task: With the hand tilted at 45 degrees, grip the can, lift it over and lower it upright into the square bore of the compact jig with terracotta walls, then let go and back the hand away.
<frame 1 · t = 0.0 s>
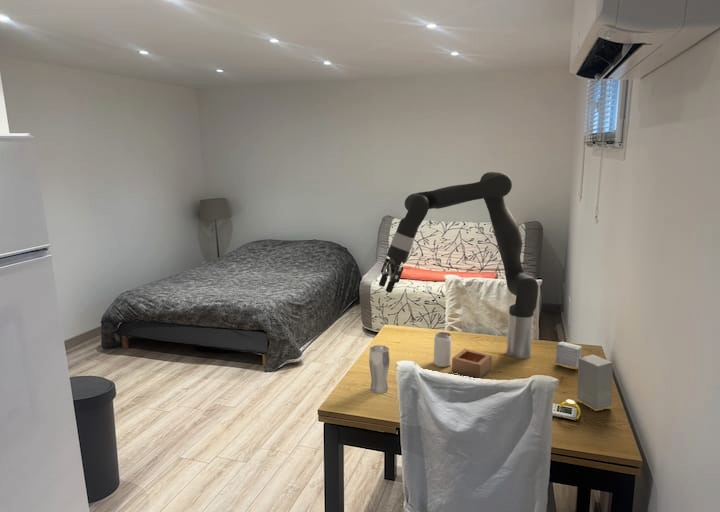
hand: (384, 288, 182), 31 cm above the table, tool tilted 20°, fingers open, 8 cm apart
jig: (471, 371, 186), on the table
can: (442, 364, 193), on the table
skincare box: (592, 405, 162), on the table
beer glass: (379, 390, 172), on the table
medicine box: (567, 367, 191), on the table
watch: (568, 419, 154), on the table
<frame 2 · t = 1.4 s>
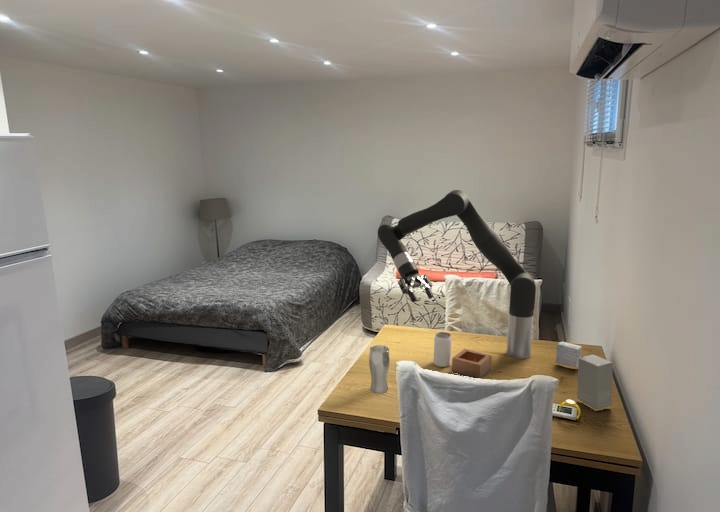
hand: (423, 299, 198), 23 cm above the table, tool tilted 45°, fingers open, 8 cm apart
nothing on the table moved.
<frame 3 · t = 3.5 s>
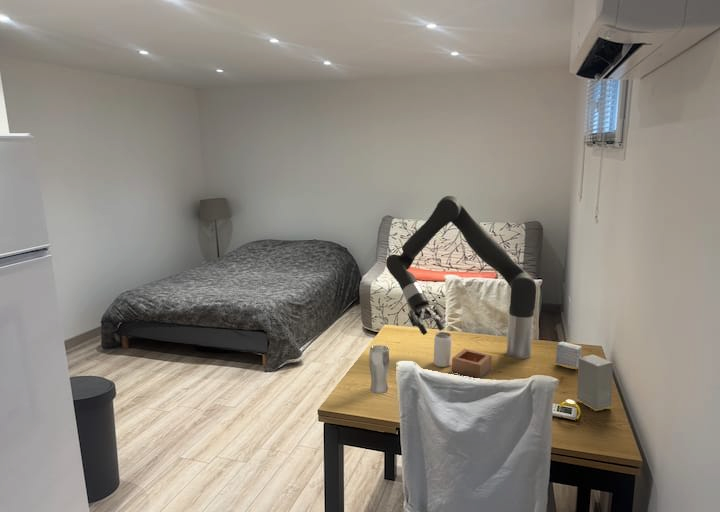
hand: (433, 331, 195), 12 cm above the table, tool tilted 45°, fingers open, 8 cm apart
nothing on the table moved.
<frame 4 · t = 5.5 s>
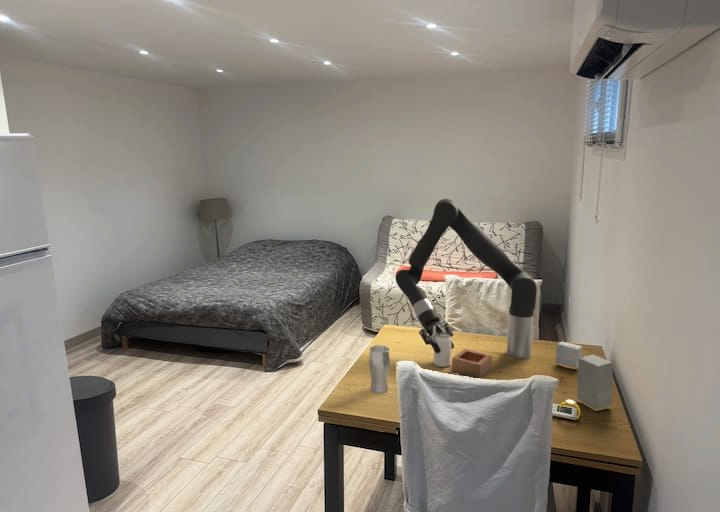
hand: (445, 350, 191), 6 cm above the table, tool tilted 45°, fingers closed on can, 6 cm apart
can: (442, 364, 193), on the table, touching gripper
everything else where it was.
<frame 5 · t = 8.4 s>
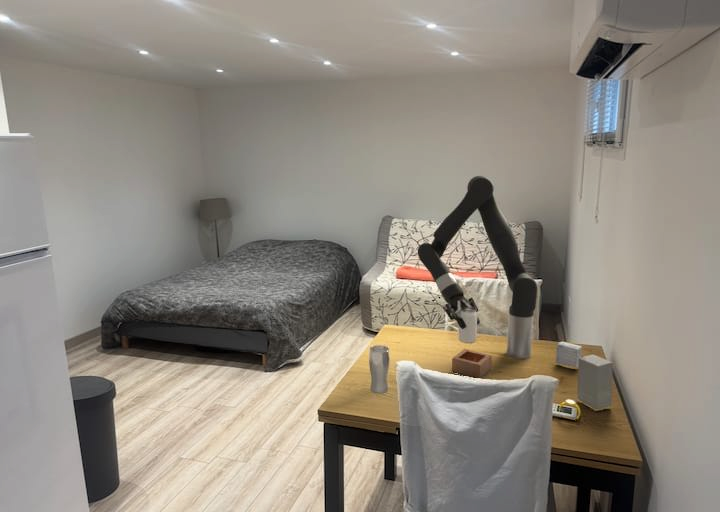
hand: (471, 325, 183), 18 cm above the table, tool tilted 45°, fingers closed on can, 6 cm apart
can: (467, 341, 186), point 12 cm above the table, touching gripper
everything else where it was.
when the fingers open (9 cm above the table, at t = 11.6 s): can drops 1 cm, resting on jig.
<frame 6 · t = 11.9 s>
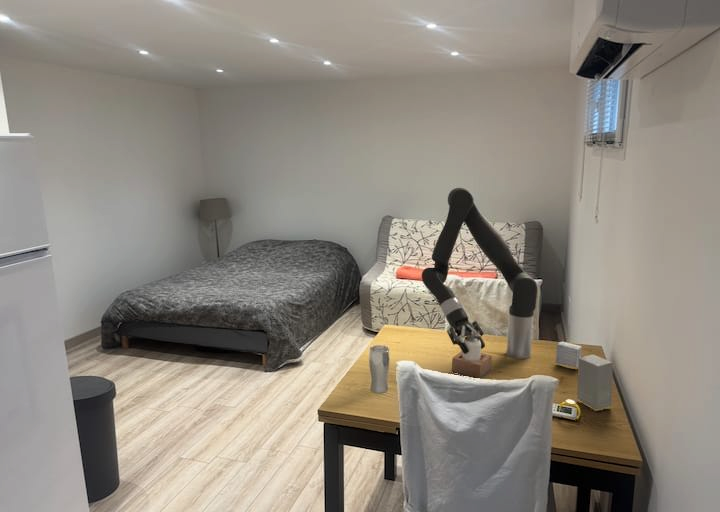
hand: (475, 350, 184), 9 cm above the table, tool tilted 45°, fingers open, 8 cm apart
can: (470, 369, 186), point 1 cm above the table, touching jig
everything else where it was.
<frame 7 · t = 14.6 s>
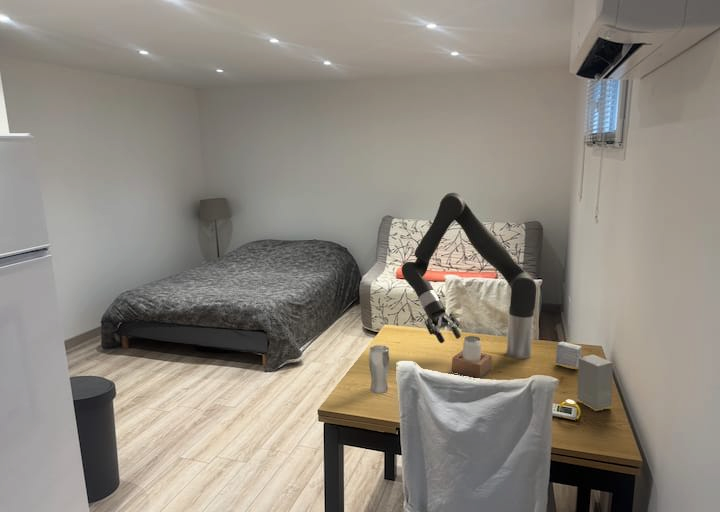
hand: (451, 340, 194), 9 cm above the table, tool tilted 45°, fingers open, 8 cm apart
nothing on the table moved.
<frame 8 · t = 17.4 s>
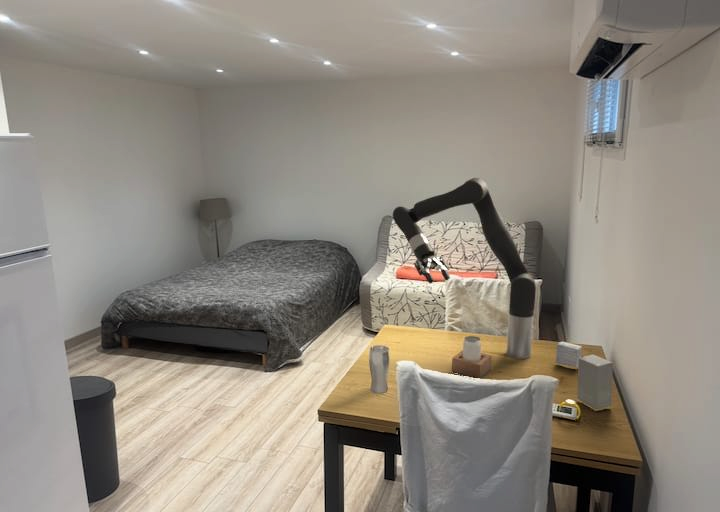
hand: (440, 280, 196), 31 cm above the table, tool tilted 45°, fingers open, 8 cm apart
nothing on the table moved.
at the end: can 0.2 cm off-centre on the jig, point 0.8 cm above the jig's base; can tilted 0°; the gripper is holding nothing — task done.
